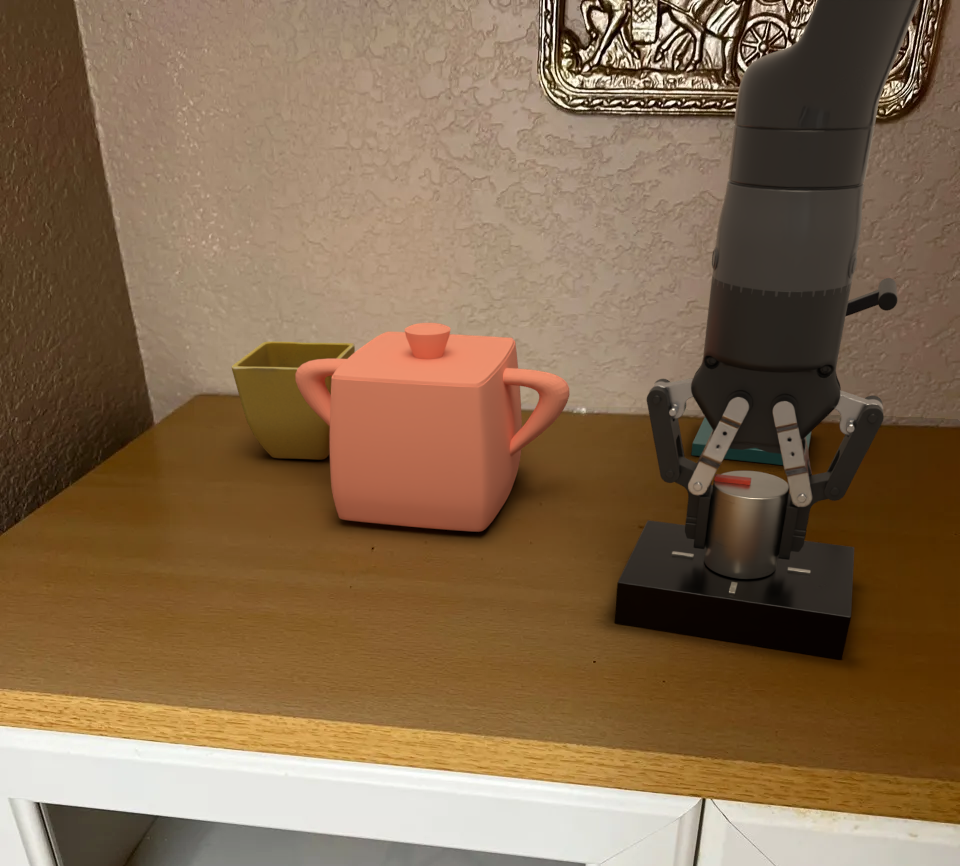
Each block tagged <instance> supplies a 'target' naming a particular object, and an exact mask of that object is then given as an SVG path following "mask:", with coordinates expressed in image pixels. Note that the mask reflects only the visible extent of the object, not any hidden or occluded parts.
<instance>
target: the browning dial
mask: <svg viewBox="0 0 960 866" xmlns="http://www.w3.org/2000/svg"><path fill="white" fill-rule="evenodd" d="M712 483H713V484H712V485H713V490H712V498H711V506H710V514H709V523H708V531H707V539H706V547H705V555H704V562H705V564H706V566H707V567H708V568H709V569H711V570H712V571H714V572H716V573H718V574H721V575H724V576H727V577H731V578H738V579H757V578H762V577H766V576H768V575H770V574H772V573H773V572H774V571H775V569H776V567H777V561H778V555H779V549H780V543H781V537H782V531H783V525H784V519H785V513H786V507H787V501H788V495H789V493H790V490H789V485H788V481H786V480H784V479H783V478H782V477H779V476H777V475H774V474H769V473H767V472H762V471H756V470H755V471H754V470H733V471H726V472H723V473H715V475H714V477H713V482H712Z"/></svg>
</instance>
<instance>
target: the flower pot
mask: <svg viewBox="0 0 960 866" xmlns="http://www.w3.org/2000/svg"><path fill="white" fill-rule="evenodd" d="M355 347H356V345H355V344H354V343H352V342H298V341H264V342H261V343H260V344H259V345H257V346H256V347H255V348H254V349H252V350H251V351H250V352H249V353H247V354H246V355H244V356H243V357H241V358H240V359H239V360H238V361H236V362H235V363H233V365H231V372H232V374H233V375H232V376H233V379H234V382H235V385H236V389H237V393H238V396H239V400H240V403H241V407H242V410H243V414H244V416H245V419H246V422H247V424H248V426H249V429H250V431H251V433H252V434H253V436H254V438H256V441H257V442H258V443H259V444H260V446H262V448H263V449H264V451H266V453H267V454H268V455H269V456H270V457H272V458H273V459H290V460H291V459H297V460H318V461H319V460H325V459H327V458H328V457H329V456H330V426H329V425H328V424H327V423H326V422H325V421H324V420H323V419H322V418H321V417H320V416H319V415H318V414H317V413H316V412H315V411H314V410H313V409H312V408H311V407H310V406H309V404H308V403H307V402H306V401H305V399H304V397H303V396H302V394H301V392H300V390H299V389H298V386H297V383H296V376H295V374H296V371H297V369H298V368H299V367H300V366H301V365H302V364H304V363H306V362H308V361H312V360H317V359H348V358H349V357H350V356H351V355H352V354H353V353H355V352H356V350H355ZM331 380H332V375H331V376H327V377H326V378H325V384H326V387H327V389H328V391H329V393H330V394H331Z"/></svg>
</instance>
